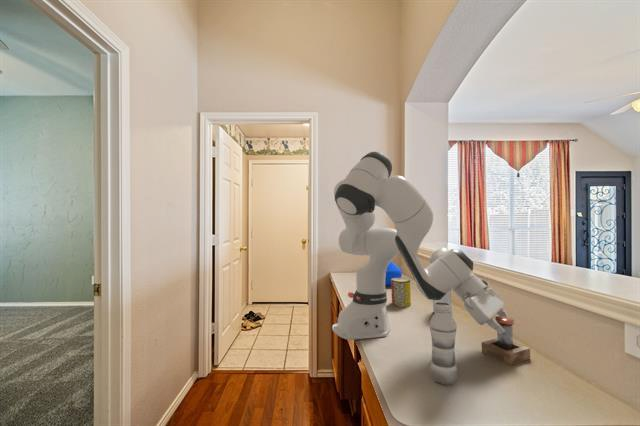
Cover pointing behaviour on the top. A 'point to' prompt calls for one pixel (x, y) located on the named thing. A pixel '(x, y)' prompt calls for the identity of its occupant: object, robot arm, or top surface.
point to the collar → (506, 352)
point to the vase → (392, 273)
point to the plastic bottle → (443, 345)
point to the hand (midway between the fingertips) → (506, 327)
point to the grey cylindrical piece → (505, 333)
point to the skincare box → (445, 299)
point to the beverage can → (401, 292)
